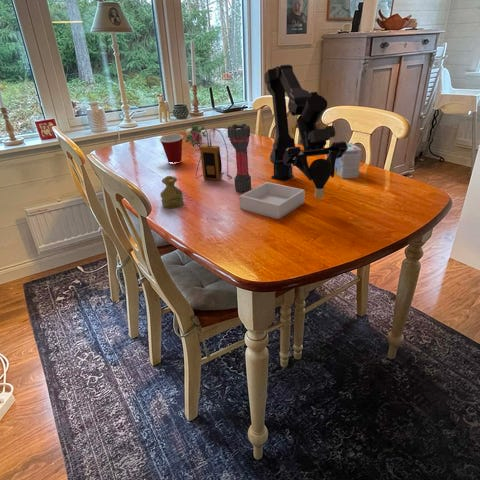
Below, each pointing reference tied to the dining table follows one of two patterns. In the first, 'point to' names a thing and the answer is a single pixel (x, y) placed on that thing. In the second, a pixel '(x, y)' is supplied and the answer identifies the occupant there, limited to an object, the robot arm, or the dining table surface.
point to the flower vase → (195, 134)
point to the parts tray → (272, 200)
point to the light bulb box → (349, 162)
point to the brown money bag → (171, 193)
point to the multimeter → (211, 160)
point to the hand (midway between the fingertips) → (322, 178)
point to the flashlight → (241, 155)
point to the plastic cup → (172, 147)
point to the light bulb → (320, 175)
